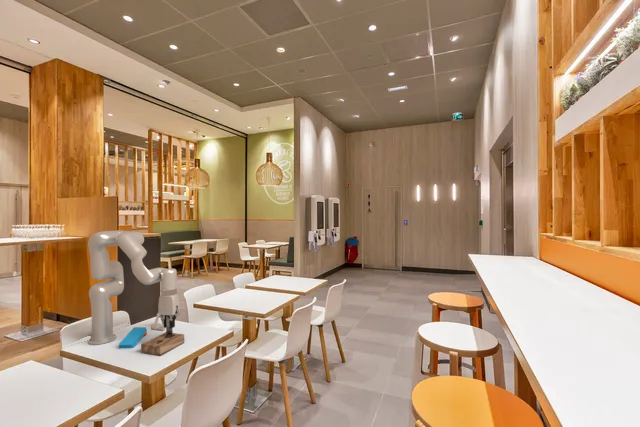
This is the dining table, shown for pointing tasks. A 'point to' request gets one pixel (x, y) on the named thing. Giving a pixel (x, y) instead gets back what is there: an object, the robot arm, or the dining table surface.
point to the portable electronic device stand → (157, 322)
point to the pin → (168, 330)
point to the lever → (133, 337)
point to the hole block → (162, 344)
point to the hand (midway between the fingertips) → (169, 327)
